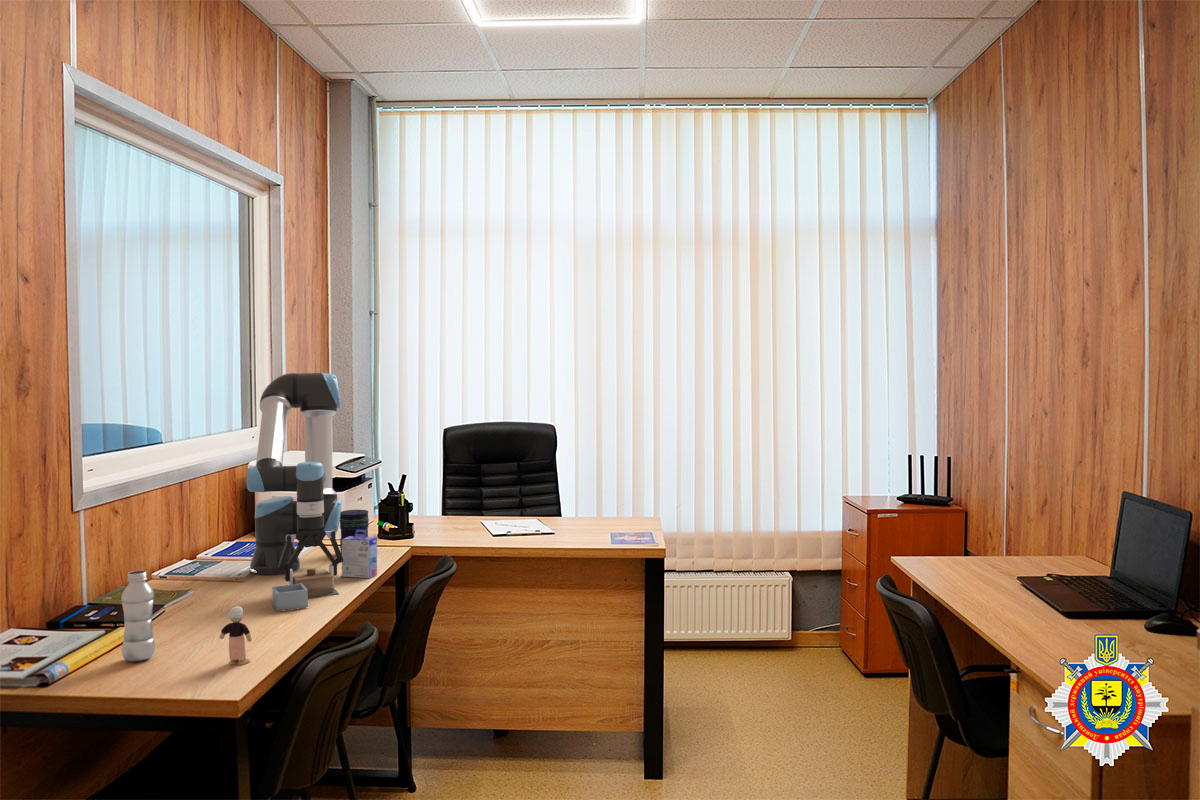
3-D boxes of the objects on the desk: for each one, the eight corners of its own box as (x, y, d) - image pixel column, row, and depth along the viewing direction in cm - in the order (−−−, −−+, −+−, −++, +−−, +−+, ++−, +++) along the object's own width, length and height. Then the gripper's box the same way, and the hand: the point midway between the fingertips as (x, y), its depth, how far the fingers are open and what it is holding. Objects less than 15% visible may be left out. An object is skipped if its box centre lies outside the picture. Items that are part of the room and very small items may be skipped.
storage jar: (355, 558, 287) (355, 515, 287) (333, 555, 292) (333, 513, 291) (375, 552, 296) (374, 510, 296) (353, 549, 301) (353, 508, 300)
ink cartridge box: (378, 574, 265) (377, 529, 264) (370, 578, 260) (369, 532, 259) (349, 573, 267) (349, 528, 266) (341, 577, 262) (340, 531, 261)
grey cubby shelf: (272, 604, 232) (272, 586, 231) (302, 600, 236) (302, 583, 235) (277, 612, 225) (276, 593, 224) (307, 607, 229) (307, 589, 228)
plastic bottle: (130, 655, 191) (128, 569, 190) (160, 654, 192) (158, 568, 191) (116, 665, 185) (114, 576, 184) (148, 664, 185) (145, 575, 185)
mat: (284, 589, 247) (284, 589, 247) (329, 584, 253) (329, 583, 253) (292, 600, 236) (292, 599, 236) (339, 594, 242) (339, 593, 242)
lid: (290, 589, 246) (290, 567, 246) (325, 585, 251) (325, 563, 251) (296, 597, 238) (296, 575, 237) (332, 593, 243) (332, 571, 242)
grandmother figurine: (257, 659, 189) (256, 604, 188) (250, 665, 185) (249, 609, 184) (222, 659, 188) (221, 604, 188) (215, 665, 184) (214, 609, 184)
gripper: (270, 520, 235) (271, 597, 235) (353, 513, 246) (354, 587, 247) (266, 516, 241) (267, 591, 242) (347, 509, 253) (348, 581, 253)
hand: (311, 589), depth 244 cm, fingers open, 11 cm apart
